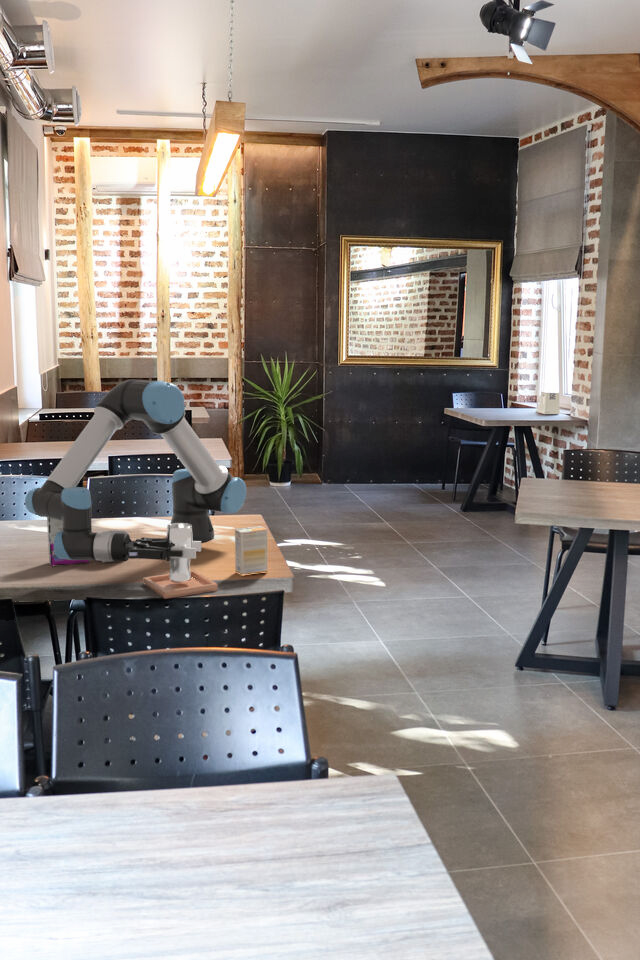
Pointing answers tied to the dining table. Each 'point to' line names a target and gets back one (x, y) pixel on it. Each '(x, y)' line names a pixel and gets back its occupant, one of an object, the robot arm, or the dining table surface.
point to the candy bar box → (53, 529)
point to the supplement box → (251, 550)
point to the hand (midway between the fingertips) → (198, 549)
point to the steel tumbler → (182, 538)
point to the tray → (180, 585)
